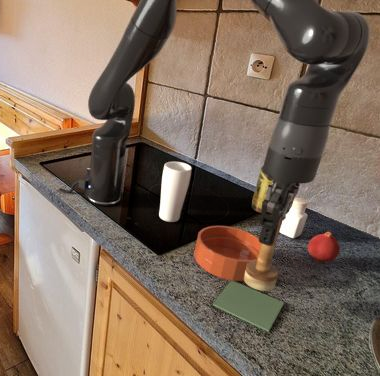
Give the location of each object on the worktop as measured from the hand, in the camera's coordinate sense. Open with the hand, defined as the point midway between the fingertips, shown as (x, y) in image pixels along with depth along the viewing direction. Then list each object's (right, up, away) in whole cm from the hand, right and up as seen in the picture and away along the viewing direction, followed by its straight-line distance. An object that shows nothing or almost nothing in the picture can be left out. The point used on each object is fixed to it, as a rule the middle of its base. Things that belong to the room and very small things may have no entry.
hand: (267, 240), depth 72 cm
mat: (0, -13, +6) cm, 15 cm away
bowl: (+1, -8, +18) cm, 20 cm away
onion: (+22, -8, +20) cm, 31 cm away
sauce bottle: (+22, +3, +42) cm, 47 cm away
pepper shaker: (+22, -3, +31) cm, 38 cm away
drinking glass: (-6, +1, +37) cm, 37 cm away
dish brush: (0, -8, +3) cm, 9 cm away
